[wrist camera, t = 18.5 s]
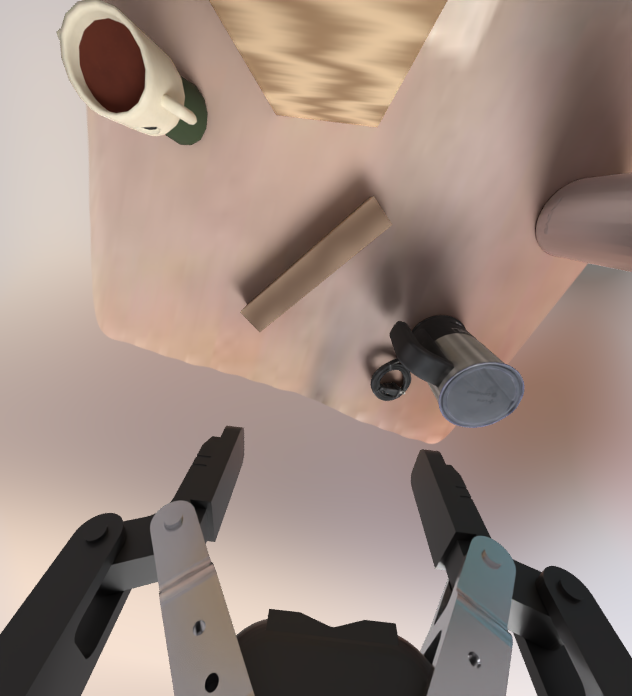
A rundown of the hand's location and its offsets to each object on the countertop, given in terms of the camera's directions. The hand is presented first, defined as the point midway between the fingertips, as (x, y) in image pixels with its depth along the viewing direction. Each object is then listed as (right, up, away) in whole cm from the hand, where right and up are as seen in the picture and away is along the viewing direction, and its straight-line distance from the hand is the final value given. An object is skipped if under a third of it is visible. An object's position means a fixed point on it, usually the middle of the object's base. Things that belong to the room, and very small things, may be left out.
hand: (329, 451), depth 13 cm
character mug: (-16, +33, +21) cm, 42 cm away
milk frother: (+16, +3, +34) cm, 37 cm away
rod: (-1, +17, +28) cm, 33 cm away
